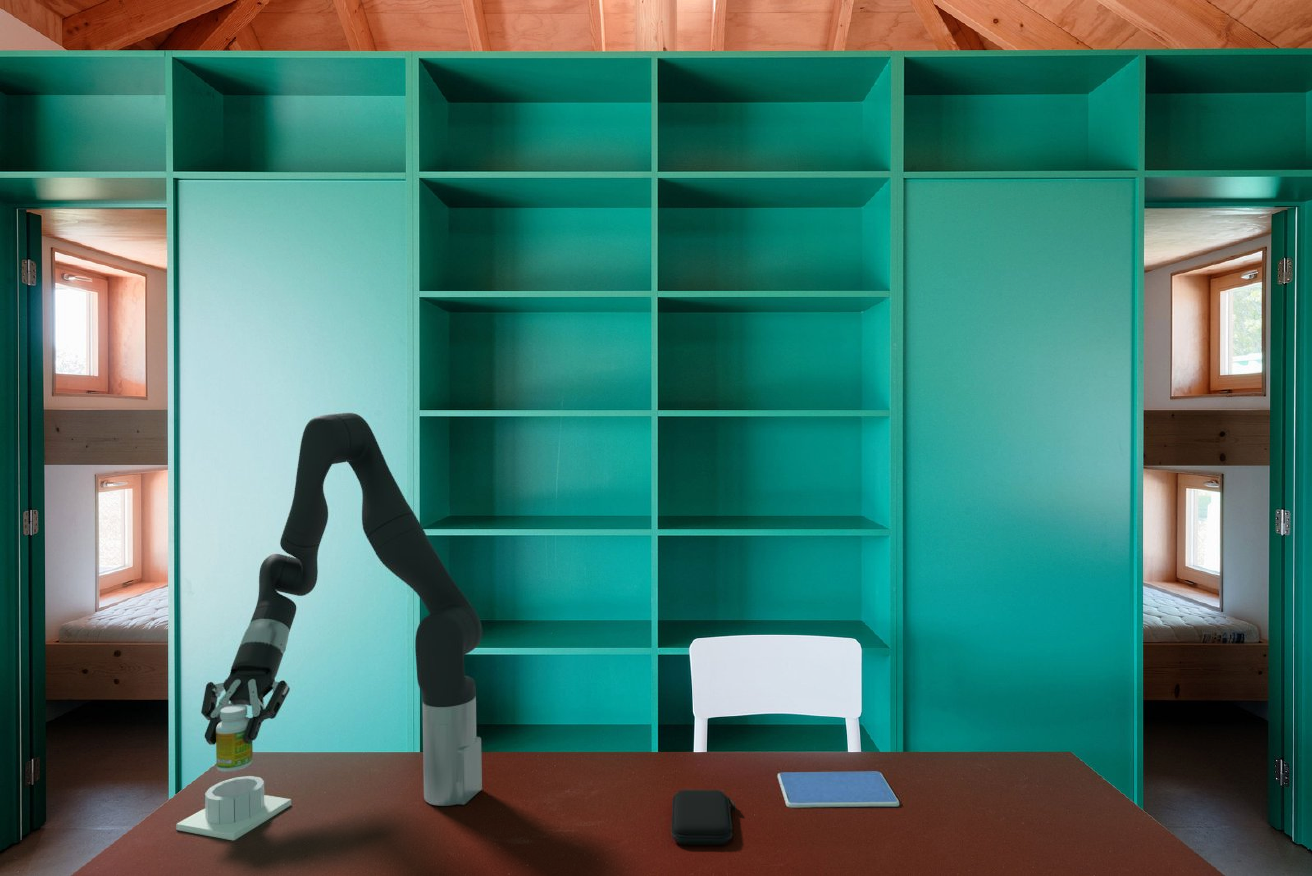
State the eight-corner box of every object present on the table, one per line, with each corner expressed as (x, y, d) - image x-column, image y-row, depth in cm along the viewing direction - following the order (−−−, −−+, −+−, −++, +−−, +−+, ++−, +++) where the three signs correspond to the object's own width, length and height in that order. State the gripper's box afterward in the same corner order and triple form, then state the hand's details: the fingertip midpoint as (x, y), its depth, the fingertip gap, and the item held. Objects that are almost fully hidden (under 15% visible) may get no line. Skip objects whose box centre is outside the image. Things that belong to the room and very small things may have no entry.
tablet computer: (787, 811, 128) (787, 803, 128) (776, 777, 140) (776, 770, 140) (901, 810, 128) (901, 802, 128) (880, 776, 140) (880, 769, 140)
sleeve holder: (291, 805, 131) (290, 776, 131) (233, 840, 120) (233, 809, 120) (237, 796, 135) (236, 768, 135) (176, 829, 123) (176, 799, 123)
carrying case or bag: (740, 850, 116) (734, 803, 130) (739, 830, 116) (733, 786, 130) (671, 850, 116) (672, 803, 131) (670, 830, 116) (672, 785, 131)
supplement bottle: (236, 773, 124) (235, 715, 124) (208, 771, 125) (207, 713, 125) (260, 759, 130) (259, 703, 130) (233, 757, 131) (232, 701, 131)
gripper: (213, 640, 134) (174, 734, 123) (295, 639, 135) (264, 731, 123) (229, 661, 140) (193, 752, 128) (307, 659, 140) (279, 750, 129)
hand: (228, 742), depth 126 cm, fingers closed on supplement bottle, 5 cm apart
